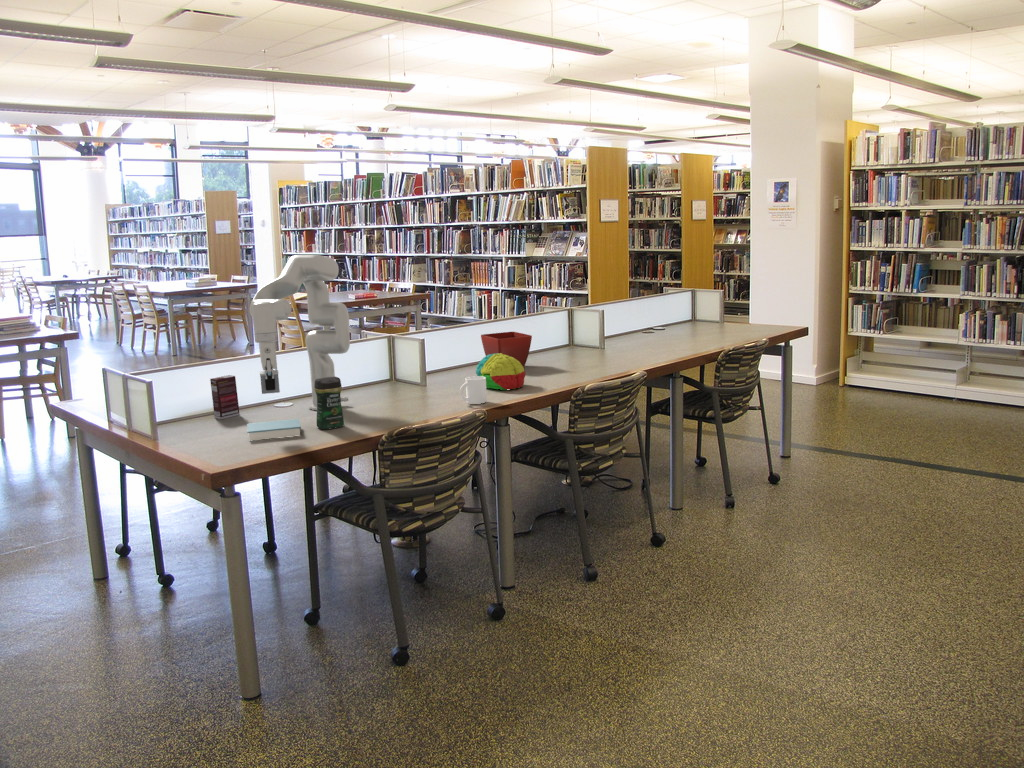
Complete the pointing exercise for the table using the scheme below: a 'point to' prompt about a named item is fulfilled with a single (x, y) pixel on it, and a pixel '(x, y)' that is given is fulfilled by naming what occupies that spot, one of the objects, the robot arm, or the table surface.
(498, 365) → the brain model
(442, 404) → the table surface
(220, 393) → the supplement box
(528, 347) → the plant pot
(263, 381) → the card box
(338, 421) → the coffee jar
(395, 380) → the table surface
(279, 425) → the book
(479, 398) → the mug
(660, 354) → the table surface
